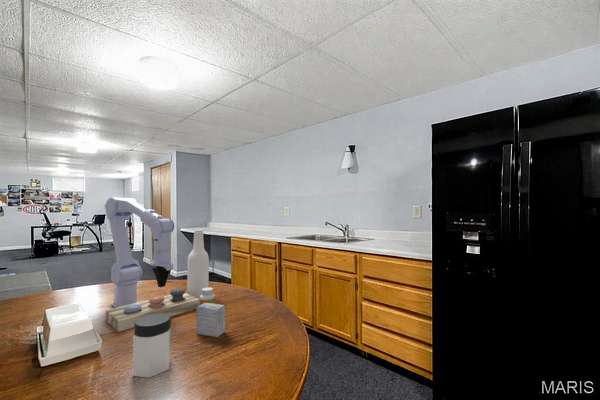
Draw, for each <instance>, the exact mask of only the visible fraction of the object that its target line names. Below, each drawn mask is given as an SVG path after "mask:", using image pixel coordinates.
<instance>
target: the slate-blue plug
mask: <svg viewBox="0 0 600 400" xmlns="http://www.w3.org/2000/svg"><path fill="white" fill-rule="evenodd" d="M140 310H141V305H140V304H133V305H128V306H126V307H124V312H125V313H126V314H127V315H128V314H132V313H136V312H139V311H140Z"/></svg>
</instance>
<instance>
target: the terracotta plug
mask: <svg viewBox="0 0 600 400" xmlns="http://www.w3.org/2000/svg"><path fill="white" fill-rule="evenodd" d="M164 296H165V295H164ZM164 296H163V295H156V296H155V295H154V296H152V297H149V298H148V300H149V303H150V304H151V308H155V307H159V306H162V302H163V301H164Z"/></svg>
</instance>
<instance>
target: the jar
mask: <svg viewBox="0 0 600 400" xmlns="http://www.w3.org/2000/svg"><path fill="white" fill-rule="evenodd" d="M171 322H172V316H170V315H168V314H151V315H147V316H144V317H141V318H139V319H138V320H136V321H135V323H134V327H133V330H134V331H133V333H134V335H133V336H132V376H133V377H138V378H139V377H141V378H147V379H148V378H149V379H150V378H152V377H154V376H157V375H159V374H161V373H163V372H166V371H168V370H169V369H170V364H171V356H172V354H171V352H172V349H171V348H172V339H171V338H172V323H171Z"/></svg>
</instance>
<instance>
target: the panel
mask: <svg viewBox="0 0 600 400" xmlns="http://www.w3.org/2000/svg"><path fill="white" fill-rule="evenodd" d="M134 304H140V305H141V310H140V311H139V312H136V313H132V314H128V315H127V314H126V313H125V312H124V307H126V306H128V305H125V306H121V307H117V308H115V307H113V308H110V309H105V321H106V323H108V324H109V325H111V326H112V327H113V328H114V329H115V330H116V331H117V332H118V333H119V332H123V331H126V330H130V329H134V323H135V321H136V320H138V319H139V318H141V317H144V316H147V315H151V314H168V315H170V316H171V317H173V316H177V315H180V314H183V313H186V312H189V311H193V310H197V307H198V306H200V299H199V298H196V297H194V296H191V295H189V294H187V292H185V293H184V294H183V300H182V301H178V302H173V301H172V295H170V294H168V295H164V301H163V302H162V306H159V307H155V308H151V304H150V303H149V299H147V300H142V301H138V303H134ZM129 305H133V304H129Z"/></svg>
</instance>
